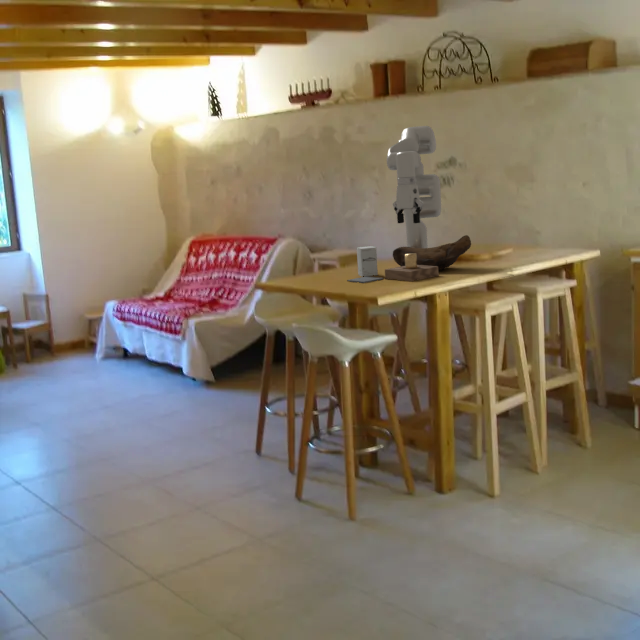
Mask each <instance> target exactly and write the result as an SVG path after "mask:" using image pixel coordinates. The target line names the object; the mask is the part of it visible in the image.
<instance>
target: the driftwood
mask: <svg viewBox="0 0 640 640" xmlns="http://www.w3.org/2000/svg"><path fill="white" fill-rule="evenodd" d="M471 246H472V240H471V238H470V236H469V235H467V234H466V235H463V236H462V237H460V238H459V239H458V240H455V242H451V243H446V244H442V245H439V246H433V247H428V248H413V247H407V246H400V247H397V248H395V249H394V250H393V251H392V258H393V260H394V262H395V263H396V264H397V265H399V267H401V266H405V254H409V253H416V254H417V265H426V266H438V271H441V270H444V269H447V268H449V267H450V266H452V265H454V264H455V263H456V262H457V260H458V259H459V257H460V256H461V255H463V254H465V253H466V252H467V251H468V250H469V249H471Z"/></svg>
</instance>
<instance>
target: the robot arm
mask: <svg viewBox="0 0 640 640" xmlns="http://www.w3.org/2000/svg"><path fill="white" fill-rule="evenodd" d="M436 150H437V140H436V135H435V132H434V130H433V129H432V127H431V126H428V125H418V126H409V127H406V128H404V129H403V130H402V132H401V135H400V139H399V140H398V142H396V143H395V144H393V145H391V146H390V147H389V148H388V151H387V154H386V166H387V168H388V170H391V171H396V181H397V186H396V194H395V196H396V198H395V199H396V200H395V201H394V202H393V203H392V207H393V210H394V211H395V214H396V219H397V220H396V221H397V224H403V223H404V222H405V234H406V235H405V236H406V247H413V248H429V247H428V229H427V225H426V224H425V223H424V222H423V221H422V220H421V219H425V218H426V219H428V218H437V217H439V216H440V215H441V212H442V190H441V187H442V186H441V180H440V177H439V176H438V175H437V174H434V173H429V174H425V173H424V163H422V158H421V155H430V154H433V153H435V151H436Z"/></svg>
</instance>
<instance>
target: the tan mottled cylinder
mask: <svg viewBox="0 0 640 640" xmlns="http://www.w3.org/2000/svg"><path fill="white" fill-rule="evenodd" d="M416 268H417V254H416V253H409V254H405V269H416Z"/></svg>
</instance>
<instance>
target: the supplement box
mask: <svg viewBox="0 0 640 640" xmlns="http://www.w3.org/2000/svg"><path fill="white" fill-rule="evenodd" d="M377 256H378V255H377V247H376V246H372V245H371V246H370V245H369V246H359V247H356V258H357V259H356V260H357V273H358V276H360V277H363V276H364V277H366V276H368V277H374V276H378V275H379V274H378V260H377V259H378V257H377ZM373 275H374V276H373Z"/></svg>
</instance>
